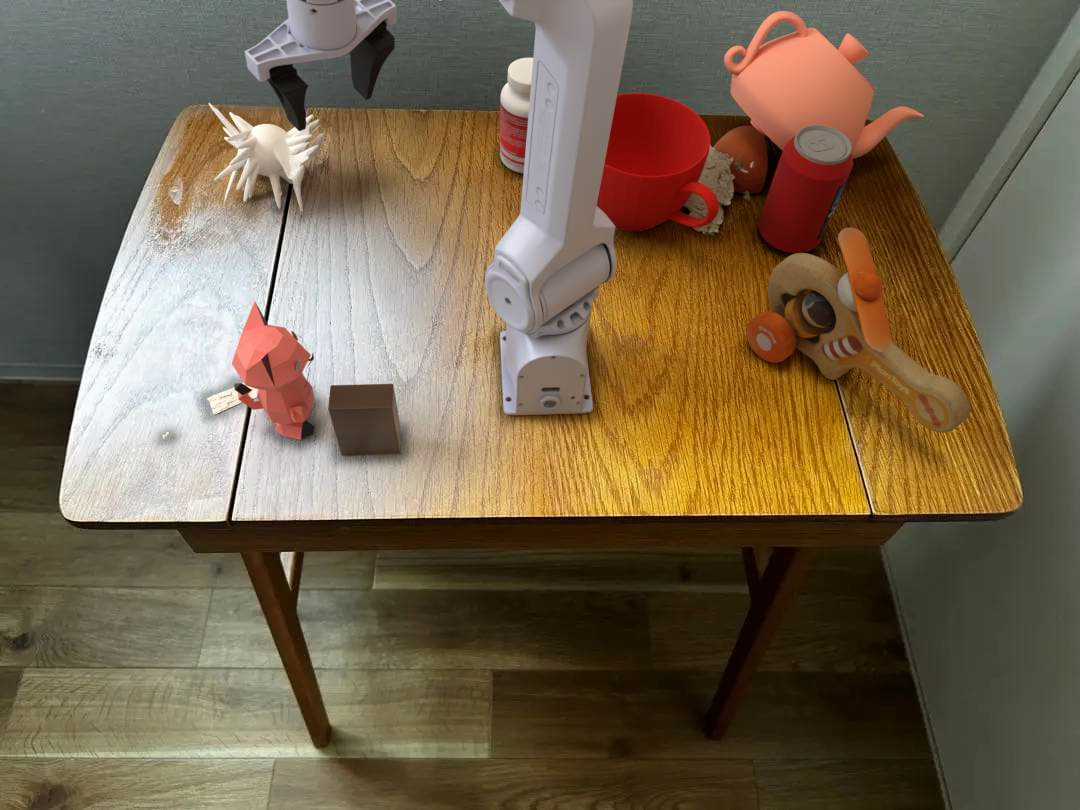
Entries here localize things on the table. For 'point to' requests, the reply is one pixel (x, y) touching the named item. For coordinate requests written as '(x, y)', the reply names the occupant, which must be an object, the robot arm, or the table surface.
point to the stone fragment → (715, 189)
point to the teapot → (807, 86)
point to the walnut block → (365, 419)
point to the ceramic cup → (654, 163)
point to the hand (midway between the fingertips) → (330, 107)
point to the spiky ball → (268, 154)
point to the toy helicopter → (849, 330)
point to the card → (226, 400)
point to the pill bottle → (515, 114)
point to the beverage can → (806, 188)
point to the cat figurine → (275, 375)
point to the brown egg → (745, 157)
